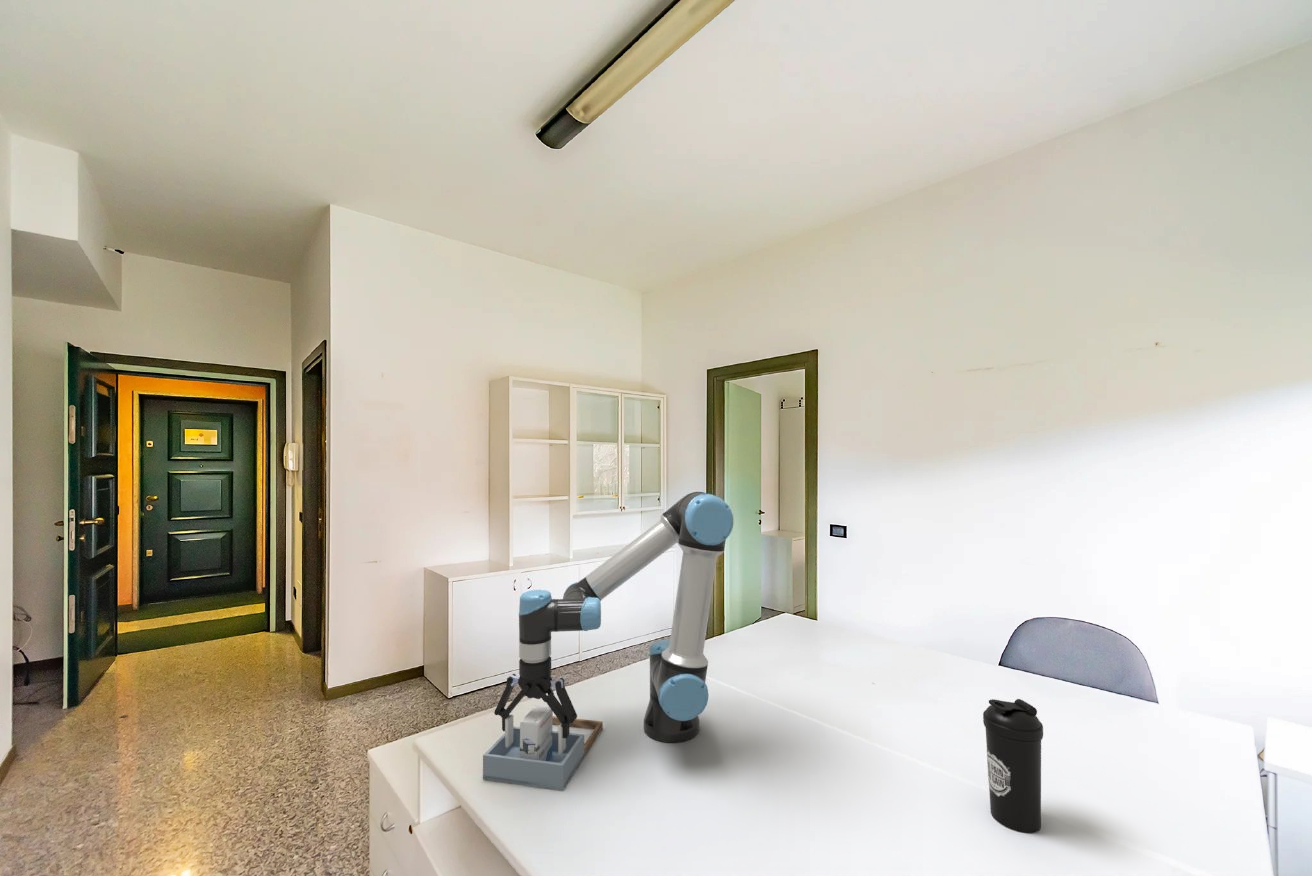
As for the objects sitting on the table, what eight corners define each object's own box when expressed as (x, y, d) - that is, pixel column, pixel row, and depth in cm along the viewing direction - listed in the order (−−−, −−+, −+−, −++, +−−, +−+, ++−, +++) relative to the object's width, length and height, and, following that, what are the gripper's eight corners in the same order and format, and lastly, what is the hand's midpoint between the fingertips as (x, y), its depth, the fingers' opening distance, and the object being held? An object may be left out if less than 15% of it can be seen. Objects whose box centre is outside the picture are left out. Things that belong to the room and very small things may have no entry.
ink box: (534, 752, 133) (534, 704, 133) (553, 755, 132) (553, 706, 132) (518, 773, 124) (518, 721, 125) (538, 775, 123) (538, 723, 124)
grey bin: (584, 757, 132) (584, 734, 133) (562, 790, 119) (562, 765, 119) (511, 748, 137) (511, 726, 137) (482, 779, 123) (482, 755, 124)
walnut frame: (602, 728, 146) (602, 721, 146) (585, 756, 133) (585, 748, 133) (535, 721, 150) (535, 714, 150) (512, 747, 137) (512, 739, 137)
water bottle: (974, 804, 113) (971, 693, 114) (1020, 801, 114) (1016, 691, 115) (1010, 838, 103) (1006, 716, 104) (1059, 834, 104) (1055, 713, 105)
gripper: (590, 655, 130) (590, 745, 129) (496, 648, 135) (495, 734, 135) (578, 667, 122) (579, 762, 122) (479, 659, 128) (479, 750, 127)
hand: (535, 747), depth 128 cm, fingers open, 13 cm apart
